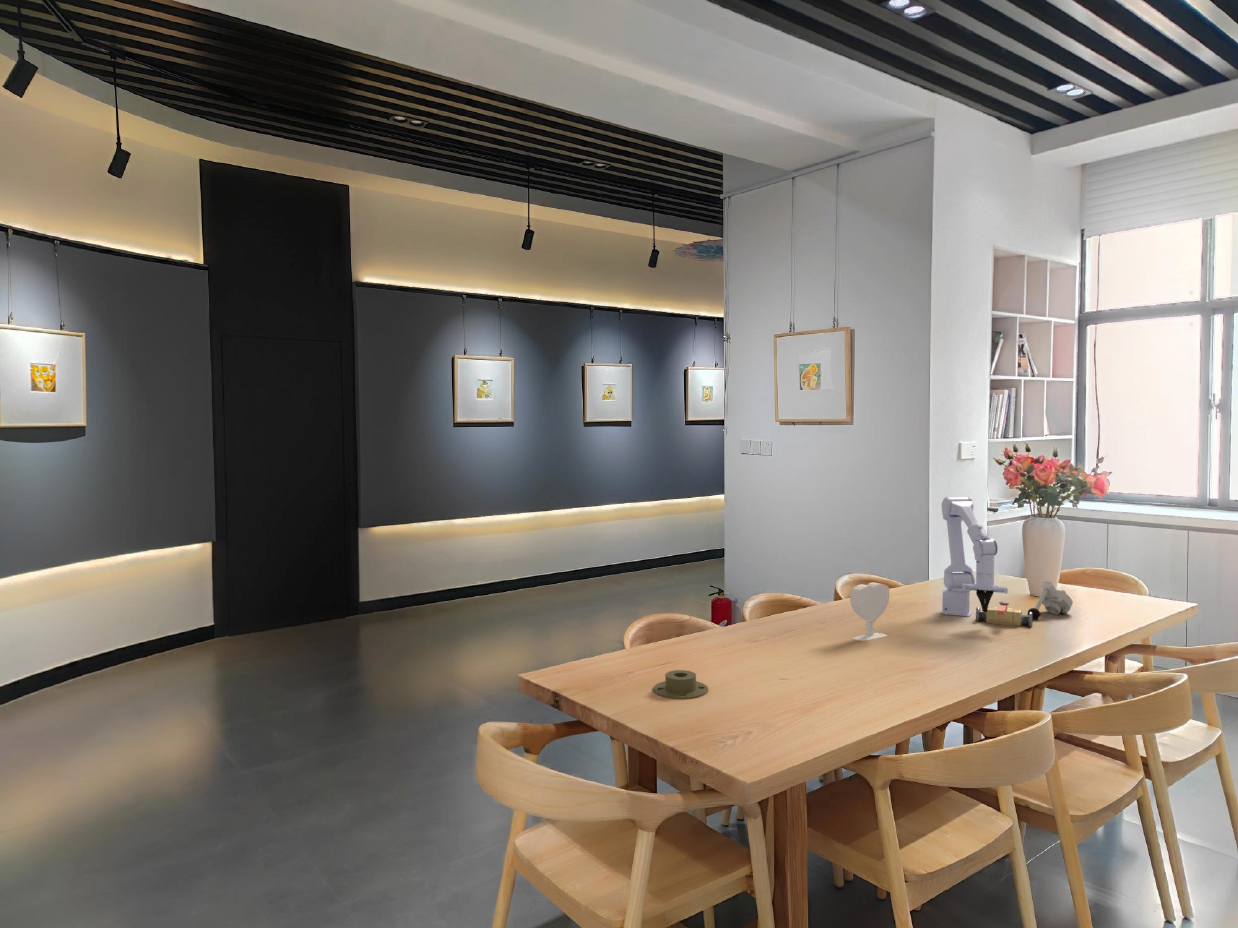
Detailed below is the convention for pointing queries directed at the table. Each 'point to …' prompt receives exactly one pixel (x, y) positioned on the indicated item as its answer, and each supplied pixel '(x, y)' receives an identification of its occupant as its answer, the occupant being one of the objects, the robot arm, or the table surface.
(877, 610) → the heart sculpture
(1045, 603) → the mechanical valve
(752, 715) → the table surface
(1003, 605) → the lever
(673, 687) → the flange
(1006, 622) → the valve pipe
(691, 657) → the table surface
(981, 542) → the robot arm
